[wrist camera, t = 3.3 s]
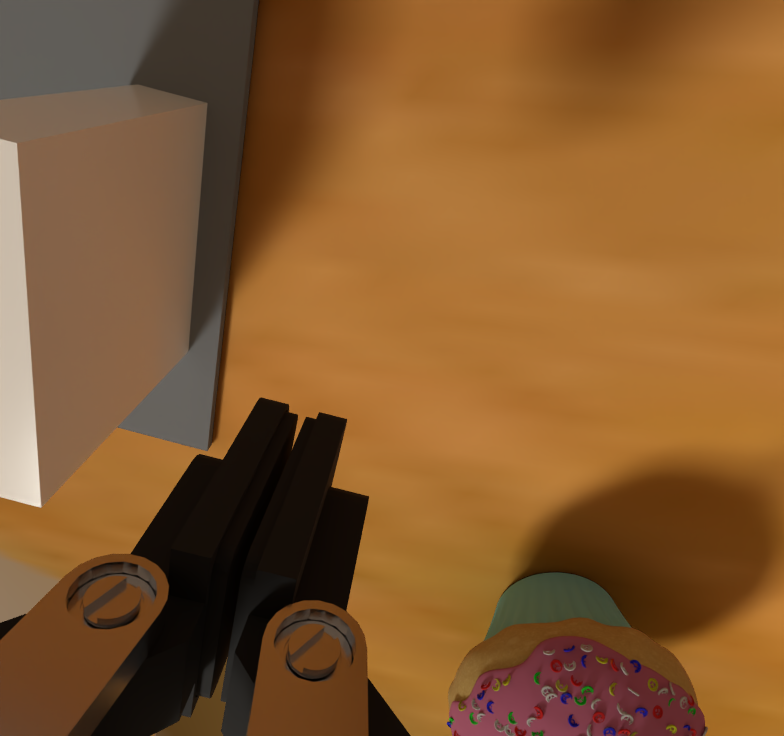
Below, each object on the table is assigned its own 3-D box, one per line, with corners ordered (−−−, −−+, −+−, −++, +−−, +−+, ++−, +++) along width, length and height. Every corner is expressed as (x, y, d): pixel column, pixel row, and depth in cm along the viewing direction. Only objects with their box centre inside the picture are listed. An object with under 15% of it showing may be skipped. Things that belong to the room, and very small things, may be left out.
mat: (-275, -200, 15) (-292, -206, 15) (264, -56, 15) (259, -59, 15) (-148, 349, 23) (-158, 354, 23) (211, 444, 23) (207, 451, 23)
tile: (127, 81, 17) (-120, 106, 10) (207, 102, 17) (16, 143, 10) (122, 334, 21) (-58, 481, 14) (188, 351, 21) (41, 507, 14)
